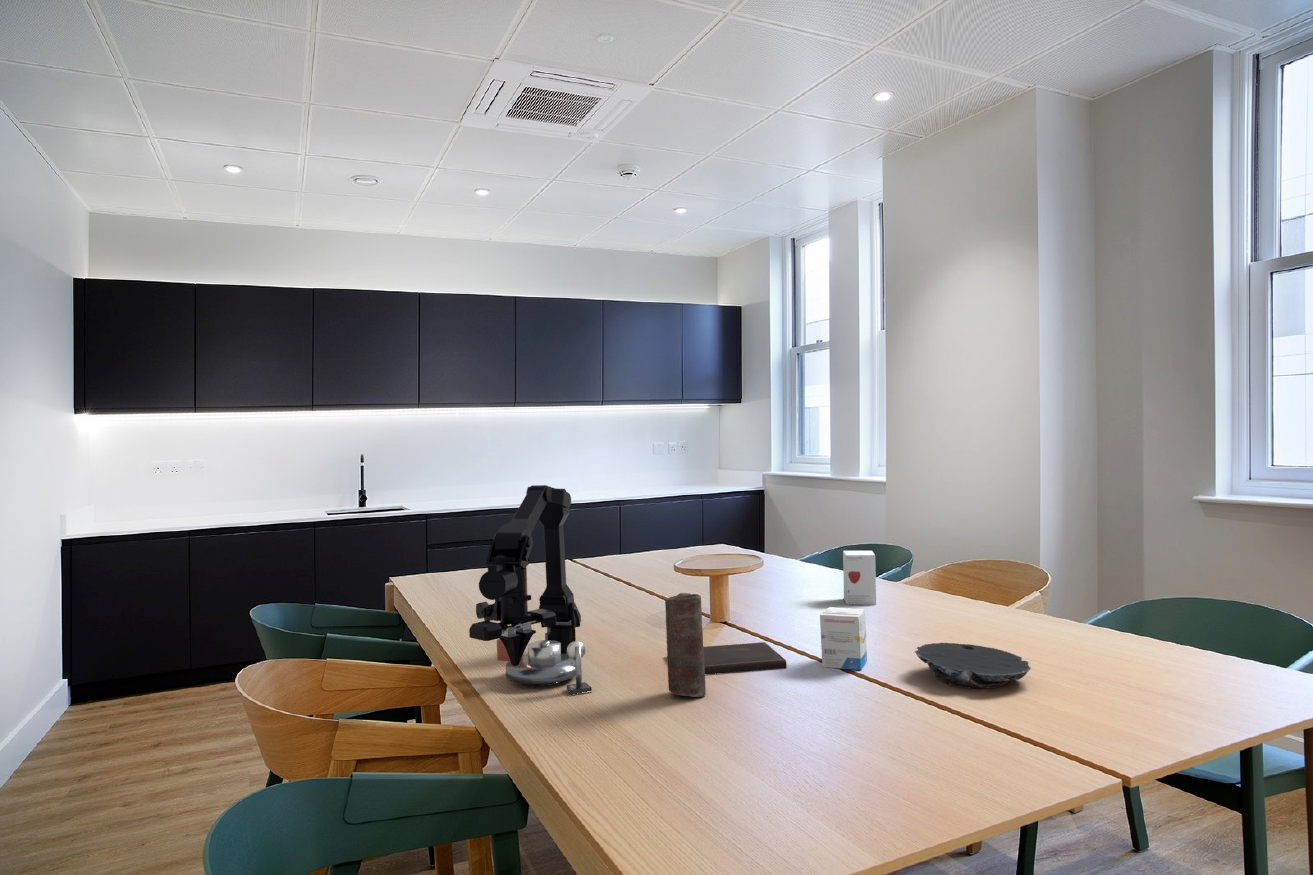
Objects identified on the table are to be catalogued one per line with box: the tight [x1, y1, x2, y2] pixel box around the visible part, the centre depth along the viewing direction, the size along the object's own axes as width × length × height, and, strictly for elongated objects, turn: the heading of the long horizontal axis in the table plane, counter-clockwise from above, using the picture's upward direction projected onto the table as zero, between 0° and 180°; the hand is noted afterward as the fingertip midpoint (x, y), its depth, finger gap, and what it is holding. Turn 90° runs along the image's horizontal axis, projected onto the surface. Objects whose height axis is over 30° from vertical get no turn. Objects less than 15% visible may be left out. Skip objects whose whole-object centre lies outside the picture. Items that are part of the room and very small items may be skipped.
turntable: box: [496, 639, 576, 685], centre depth 171 cm, size 16×16×6 cm
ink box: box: [819, 606, 868, 671], centre depth 175 cm, size 9×8×12 cm
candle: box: [664, 592, 707, 698], centre depth 157 cm, size 8×7×20 cm
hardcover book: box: [703, 641, 788, 675], centre depth 179 cm, size 16×23×2 cm
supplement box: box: [842, 550, 877, 606], centre depth 239 cm, size 9×9×15 cm
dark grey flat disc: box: [913, 642, 1032, 691], centre depth 163 cm, size 22×22×5 cm
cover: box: [527, 639, 561, 668], centre depth 171 cm, size 7×7×5 cm
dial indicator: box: [566, 640, 593, 695], centre depth 163 cm, size 4×6×10 cm, turn 24°
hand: (515, 665), depth 165 cm, fingers closed
